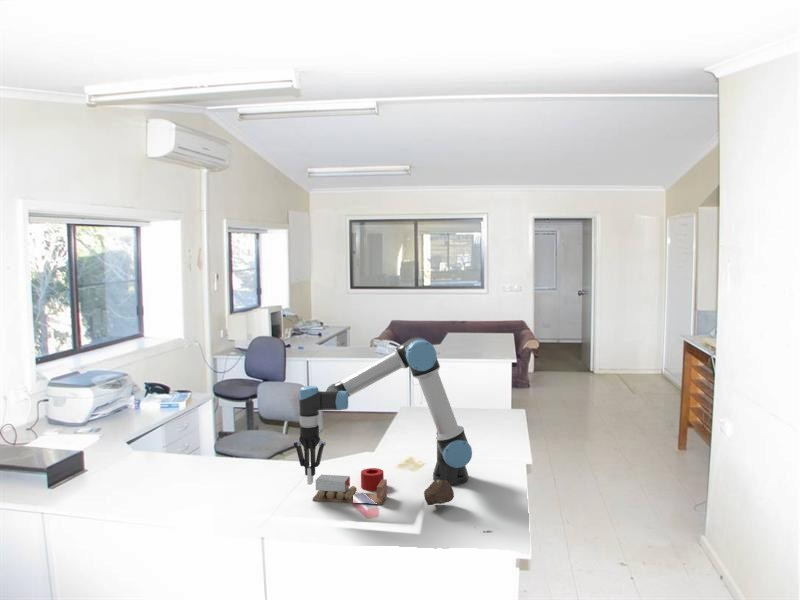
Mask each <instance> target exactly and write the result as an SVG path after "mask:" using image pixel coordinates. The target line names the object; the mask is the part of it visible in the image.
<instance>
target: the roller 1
mask: <svg viewBox="0 0 800 600" xmlns="http://www.w3.org/2000/svg"><path fill="white" fill-rule="evenodd" d="M327 492H328V491H319V490H317V492H316V494H317V497H318V498H323V497H324V496H325V494H326V493H327Z"/></svg>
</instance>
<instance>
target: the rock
mask: <svg viewBox="0 0 800 600" xmlns="http://www.w3.org/2000/svg"><path fill="white" fill-rule="evenodd" d="M454 494H455V492H454V489H453V487H452V485H450V484H449V482H448V481H447V480H436V481H434V480H433V481H432V482H431V484H430V485H429V486H427V488H426V489H425V490H424V492H423V495H424V496H423V497H424V500H425V502H426V505H427V506H434V505H436V504H437V505H440V504H441V505H442V504H446V503H449V502H451V501H452V500H453V499H454V497H455V495H454Z"/></svg>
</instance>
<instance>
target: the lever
mask: <svg viewBox="0 0 800 600" xmlns="http://www.w3.org/2000/svg"><path fill="white" fill-rule="evenodd" d="M384 476H385V475H384V470H383V469H381V468H376V467H371V468H364V469H362V470H361V472H360V489H362V490H363V491H365V492H366V491H368V492H377V486H378V484H379V483H380V481H381V480H382V479H384Z"/></svg>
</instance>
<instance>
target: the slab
mask: <svg viewBox="0 0 800 600" xmlns="http://www.w3.org/2000/svg"><path fill="white" fill-rule="evenodd" d="M350 480H351V477H350V475H340V474H339V475H337V474H335V475H332V474H321V475H319V476H318V477H317V478H316V479H315V491H336V492H346V490H347V489H348V488H349V489H350V487H351V481H350Z"/></svg>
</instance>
